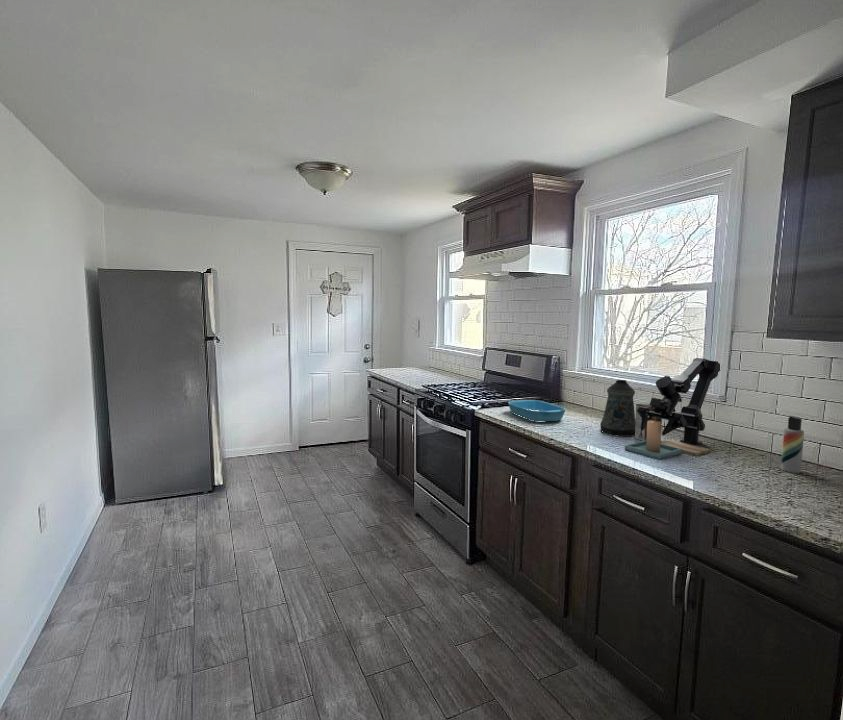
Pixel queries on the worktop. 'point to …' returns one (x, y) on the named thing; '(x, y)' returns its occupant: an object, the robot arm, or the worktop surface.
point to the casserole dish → (545, 409)
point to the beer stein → (619, 410)
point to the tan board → (687, 447)
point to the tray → (664, 452)
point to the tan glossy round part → (653, 436)
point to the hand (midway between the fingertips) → (651, 432)
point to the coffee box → (638, 433)
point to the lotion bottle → (792, 446)
